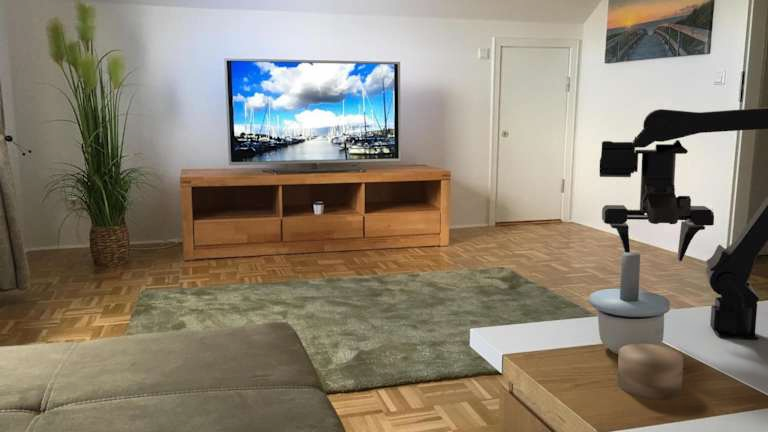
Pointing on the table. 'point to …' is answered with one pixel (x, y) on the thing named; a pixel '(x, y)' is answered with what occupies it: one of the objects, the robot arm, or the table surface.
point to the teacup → (629, 330)
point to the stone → (650, 371)
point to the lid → (630, 294)
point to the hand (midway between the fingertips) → (653, 259)
